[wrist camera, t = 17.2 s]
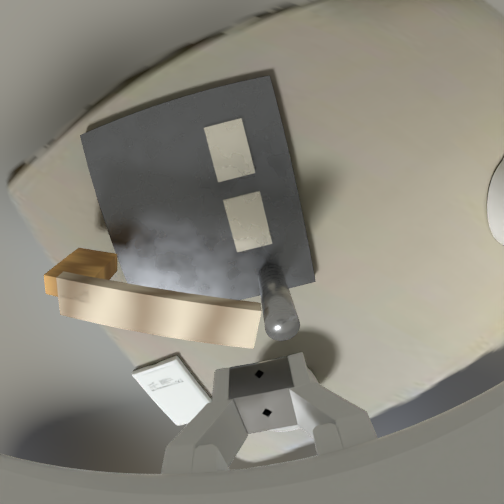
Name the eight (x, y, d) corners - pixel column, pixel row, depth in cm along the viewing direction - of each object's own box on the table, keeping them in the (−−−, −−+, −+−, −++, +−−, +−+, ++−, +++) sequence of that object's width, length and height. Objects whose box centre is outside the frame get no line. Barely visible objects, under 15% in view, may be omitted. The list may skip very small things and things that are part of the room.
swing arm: (256, 274, 35) (261, 311, 27) (250, 306, 36) (253, 348, 28) (78, 247, 33) (43, 274, 25) (80, 279, 34) (48, 311, 26)
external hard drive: (177, 419, 47) (133, 368, 43) (220, 407, 46) (178, 352, 42) (176, 426, 46) (130, 375, 42) (220, 414, 45) (176, 360, 41)
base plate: (268, 77, 31) (283, 46, 20) (313, 277, 39) (340, 330, 27) (84, 135, 32) (26, 137, 21) (145, 315, 40) (118, 374, 28)
